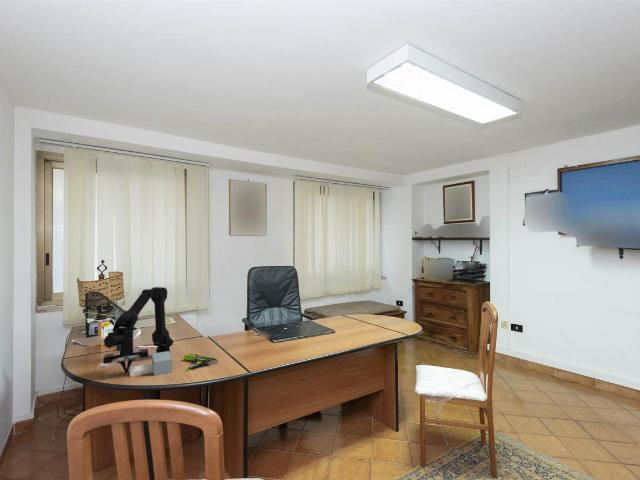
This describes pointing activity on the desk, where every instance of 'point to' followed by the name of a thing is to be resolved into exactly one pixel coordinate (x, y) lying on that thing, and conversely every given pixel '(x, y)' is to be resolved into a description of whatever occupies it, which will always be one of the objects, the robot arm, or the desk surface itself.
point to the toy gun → (199, 361)
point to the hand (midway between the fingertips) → (126, 373)
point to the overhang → (162, 363)
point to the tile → (141, 369)
